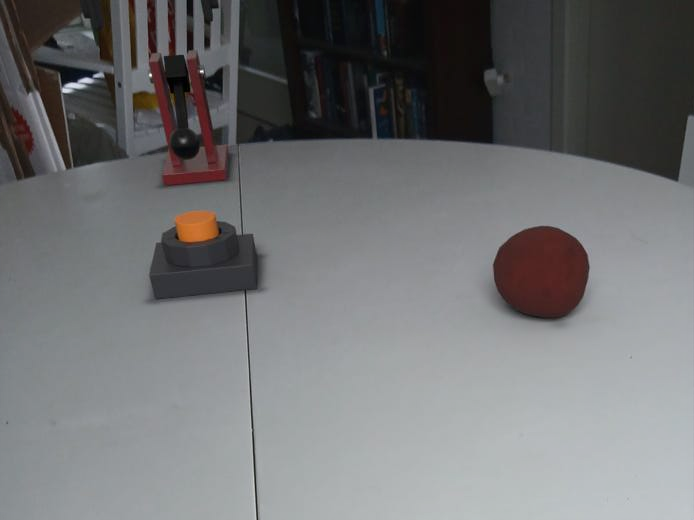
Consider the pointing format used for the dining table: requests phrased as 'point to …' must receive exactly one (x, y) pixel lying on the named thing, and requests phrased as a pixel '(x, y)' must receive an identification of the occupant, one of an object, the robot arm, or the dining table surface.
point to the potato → (542, 271)
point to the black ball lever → (180, 108)
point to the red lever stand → (211, 156)
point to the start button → (196, 226)
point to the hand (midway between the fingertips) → (154, 23)
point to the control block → (204, 264)
